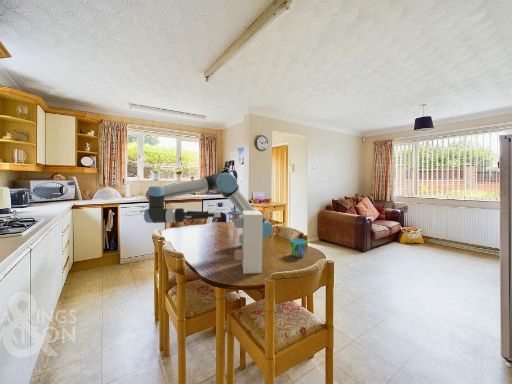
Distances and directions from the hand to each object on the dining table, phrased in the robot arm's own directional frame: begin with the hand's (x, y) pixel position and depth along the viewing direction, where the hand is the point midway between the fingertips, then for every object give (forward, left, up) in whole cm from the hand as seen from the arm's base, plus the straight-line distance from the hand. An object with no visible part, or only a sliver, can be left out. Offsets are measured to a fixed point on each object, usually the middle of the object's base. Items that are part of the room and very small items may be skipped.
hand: (220, 214), depth 123 cm
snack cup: (+23, +48, -31) cm, 62 cm away
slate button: (+7, +8, -7) cm, 13 cm away
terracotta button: (+7, +8, -25) cm, 27 cm away
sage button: (+9, +10, -16) cm, 21 cm away
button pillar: (+12, +13, -31) cm, 36 cm away
